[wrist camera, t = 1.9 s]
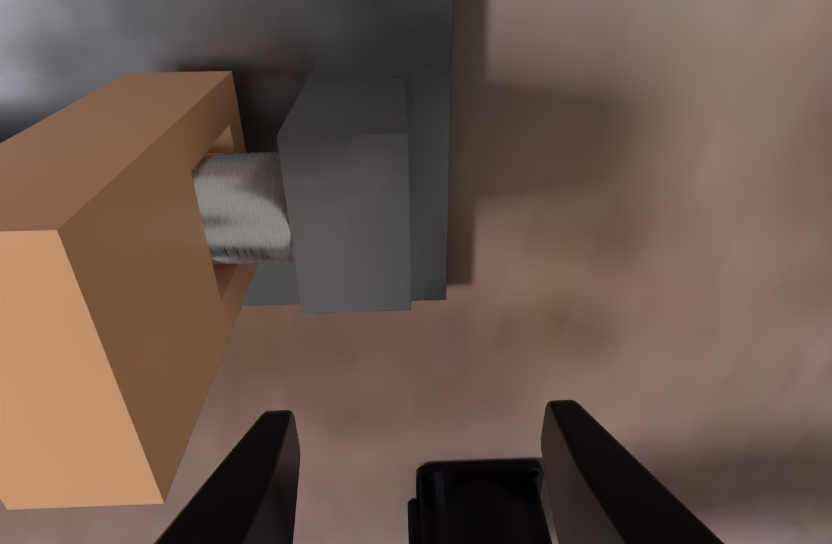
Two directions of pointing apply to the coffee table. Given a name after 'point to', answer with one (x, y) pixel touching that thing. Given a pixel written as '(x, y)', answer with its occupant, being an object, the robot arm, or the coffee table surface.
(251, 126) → the pipe stand
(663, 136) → the coffee table surface
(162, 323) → the tan rectangular block
